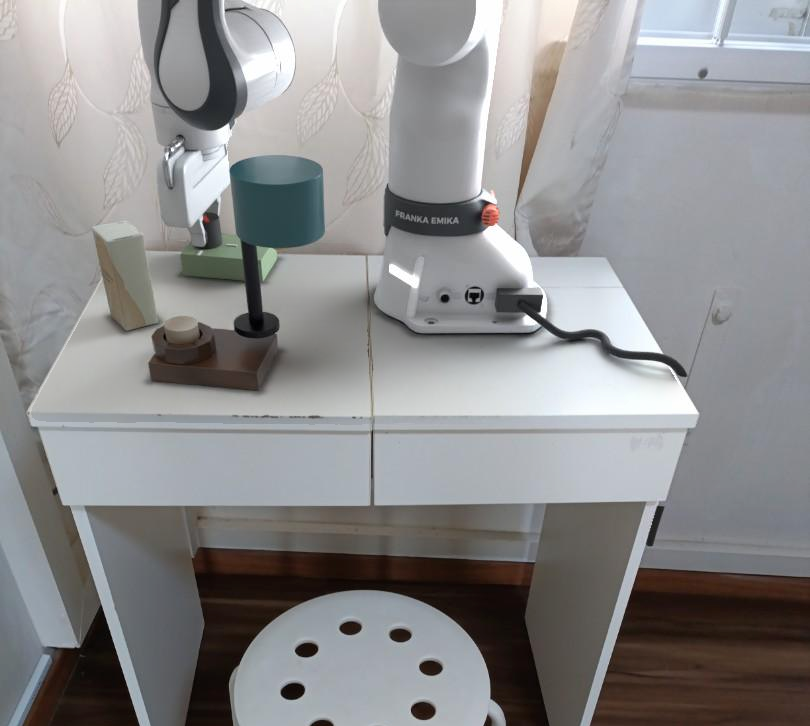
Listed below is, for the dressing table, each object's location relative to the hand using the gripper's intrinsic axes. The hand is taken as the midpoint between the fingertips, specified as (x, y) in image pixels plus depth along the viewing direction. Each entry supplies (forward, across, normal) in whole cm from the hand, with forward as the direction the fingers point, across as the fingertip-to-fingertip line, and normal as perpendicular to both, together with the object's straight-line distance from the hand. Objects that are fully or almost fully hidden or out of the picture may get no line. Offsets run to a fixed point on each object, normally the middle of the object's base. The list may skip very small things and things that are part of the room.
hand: (206, 237), depth 108 cm
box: (+4, -18, +4) cm, 18 cm away
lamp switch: (0, -28, -6) cm, 28 cm away
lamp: (0, -24, -16) cm, 29 cm away
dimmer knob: (+1, 0, 0) cm, 1 cm away
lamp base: (+4, -26, -9) cm, 28 cm away
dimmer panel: (+4, 0, -3) cm, 5 cm away
